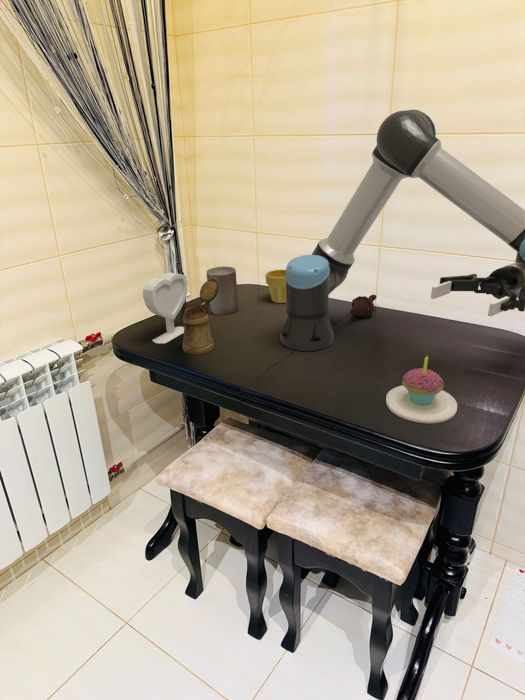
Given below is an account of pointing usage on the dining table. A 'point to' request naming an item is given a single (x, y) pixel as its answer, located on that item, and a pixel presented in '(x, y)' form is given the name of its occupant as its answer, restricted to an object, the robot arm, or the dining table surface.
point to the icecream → (363, 306)
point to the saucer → (433, 413)
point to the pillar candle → (224, 290)
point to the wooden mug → (200, 322)
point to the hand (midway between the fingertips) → (460, 301)
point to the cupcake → (422, 384)
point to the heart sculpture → (166, 301)
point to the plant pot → (277, 285)
